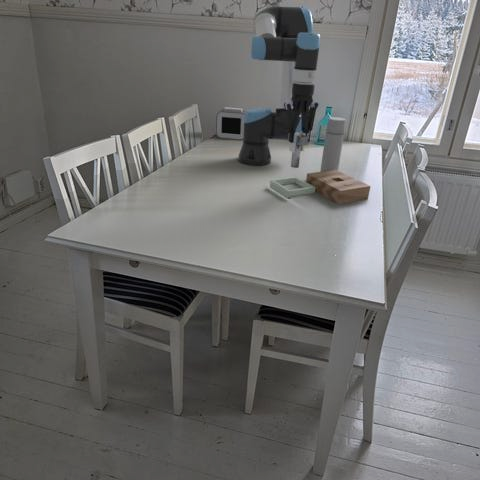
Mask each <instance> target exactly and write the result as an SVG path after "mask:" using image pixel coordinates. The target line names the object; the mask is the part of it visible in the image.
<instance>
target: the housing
mask: <svg viewBox="0 0 480 480" xmlns="http://www.w3.org/2000/svg"><path fill="white" fill-rule="evenodd" d="M305 177H306V180H305V182H307V183H309V184H310V185H312V186H314V187H316V188H315V193H317V194H319V195H321V196H323V197H325V198H326V199H328V200H330V201H332V202H333V203H335V204H337V205H341V204H347V203H352V202H358V201H364V200H368V199H369V196H370V195H369V194H370V191H371V185H369V184H367V183H366V182H362V181H361V180H358V179H356V178H354V177H352V176H350V175H347V174H345V173H344V172H341V171H339V170H338V171H337V170H331V171H323V172H320V171H315V172H310V173H309V172H308V173H306V176H305Z"/></svg>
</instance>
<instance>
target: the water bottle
mask: <svg viewBox="0 0 480 480" xmlns="http://www.w3.org/2000/svg"><path fill="white" fill-rule="evenodd" d="M346 121H347V119H346V118H343V117H338V116H336V117H335V116H332V117H331V116H330V117H329V118H328V121H327V124H326V129H324V130H325V131H326V132H325V136H324V144H323V151H322V157H321V165H320V171H319V172H323V171H331V170H337V171H339V168H340V163H341V162H340V161H341V155H342V150H343V143H344V136H345V133H346V125H347V124H346Z"/></svg>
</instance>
